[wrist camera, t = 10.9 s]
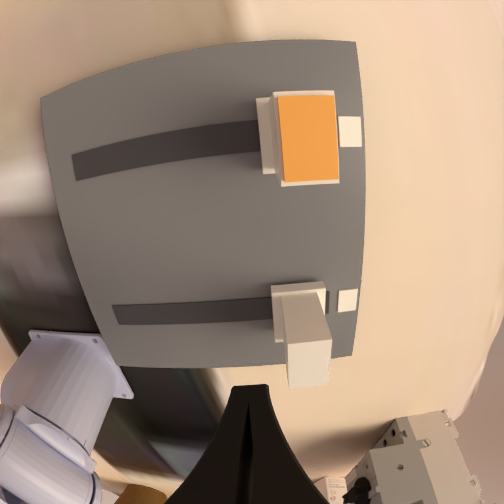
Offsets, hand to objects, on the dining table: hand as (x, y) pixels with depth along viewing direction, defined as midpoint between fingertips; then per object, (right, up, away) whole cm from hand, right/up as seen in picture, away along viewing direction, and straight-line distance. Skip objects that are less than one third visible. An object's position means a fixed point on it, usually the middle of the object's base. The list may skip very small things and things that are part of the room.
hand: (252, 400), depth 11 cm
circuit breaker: (+17, -16, +18) cm, 29 cm away
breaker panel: (-3, +8, +7) cm, 11 cm away
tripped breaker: (+2, +12, +3) cm, 12 cm away
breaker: (+3, +2, +7) cm, 8 cm away
